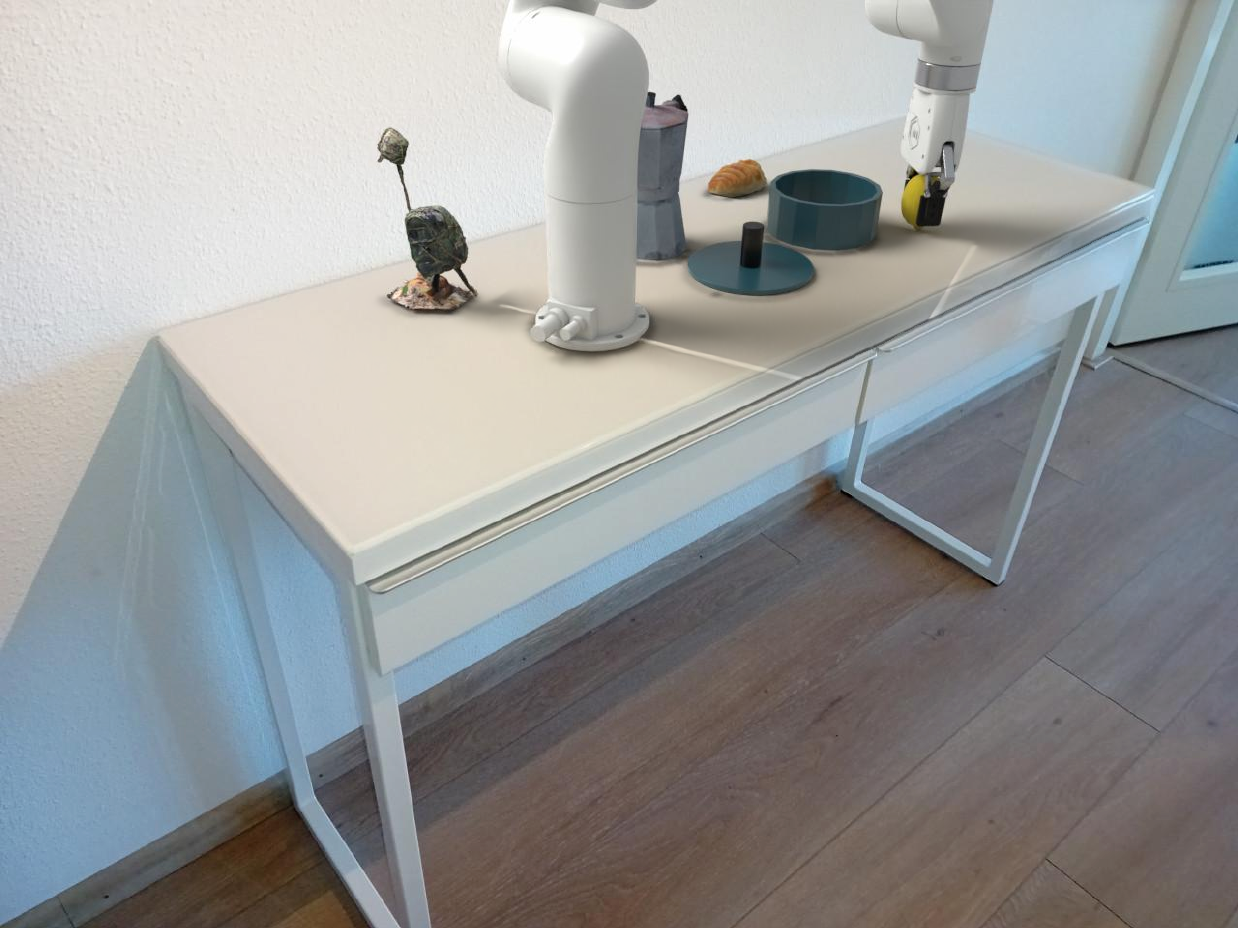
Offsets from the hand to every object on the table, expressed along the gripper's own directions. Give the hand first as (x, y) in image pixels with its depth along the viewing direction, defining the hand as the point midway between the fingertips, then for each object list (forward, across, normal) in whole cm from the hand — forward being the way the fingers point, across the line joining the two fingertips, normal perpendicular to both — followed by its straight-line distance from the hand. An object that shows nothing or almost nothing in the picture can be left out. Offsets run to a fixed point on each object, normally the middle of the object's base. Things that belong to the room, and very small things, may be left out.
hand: (920, 215), depth 131 cm
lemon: (+2, 0, 0) cm, 2 cm away
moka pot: (+2, +5, -37) cm, 37 cm away
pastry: (+2, -18, -22) cm, 28 cm away
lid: (+2, +13, -25) cm, 28 cm away
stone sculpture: (+3, +19, -63) cm, 66 cm away
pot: (+2, 0, -13) cm, 14 cm away
